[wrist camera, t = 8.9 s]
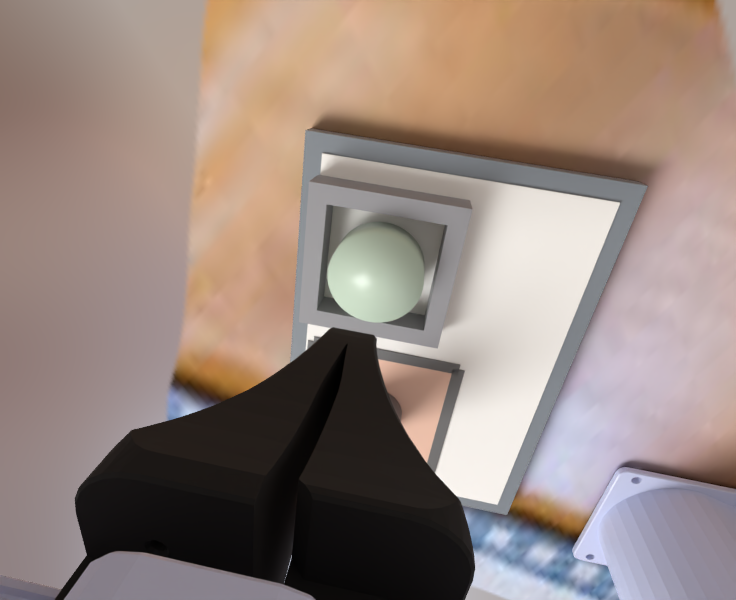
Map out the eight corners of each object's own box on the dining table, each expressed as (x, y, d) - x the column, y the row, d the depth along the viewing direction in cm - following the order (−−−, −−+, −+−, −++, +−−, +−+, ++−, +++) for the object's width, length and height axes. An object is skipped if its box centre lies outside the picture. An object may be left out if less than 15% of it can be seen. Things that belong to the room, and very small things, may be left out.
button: (432, 230, 18) (433, 242, 17) (415, 312, 20) (414, 330, 19) (340, 214, 19) (332, 224, 17) (331, 297, 20) (323, 313, 19)
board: (638, 181, 18) (666, 195, 16) (504, 502, 27) (510, 539, 25) (311, 128, 19) (294, 134, 17) (287, 456, 28) (275, 488, 26)
